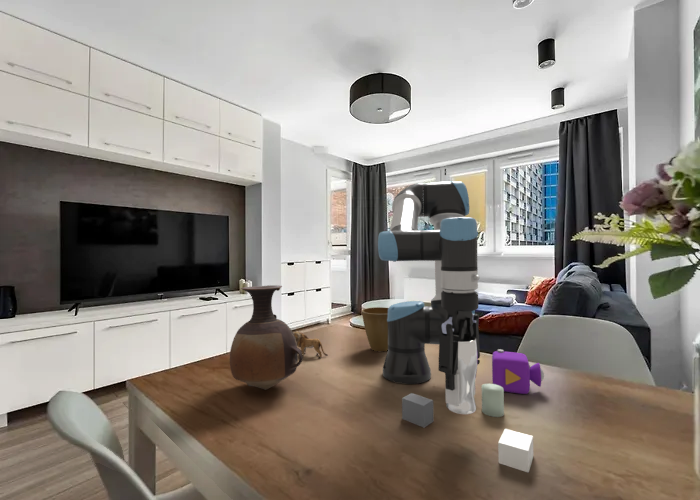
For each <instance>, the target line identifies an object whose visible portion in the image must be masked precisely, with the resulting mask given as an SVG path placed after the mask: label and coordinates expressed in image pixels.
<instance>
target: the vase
mask: <svg viewBox="0 0 700 500" xmlns="http://www.w3.org/2000/svg"><path fill="white" fill-rule="evenodd" d="M282 287H283V286H282V285H278V284H275V285H271V284H269V285H255V286H253V285H252V286H245V287H244V286H243V287H241V288H240V289H241V290H243V291H244V292H247V293H249V295H250V297H251V299H252V305H253V310H252V314H251V318H250V320H248V321H246V322H245V323H244V324H242V326H241V327H239V328H238V330H237V331H236V333H235V335H234V337H233V340H232V341H231V342H232V343H231V347H230V351H229V366H230V371H231V375H232V377H233V378H234V379H235V380H237V381H239V382H242V383H245V384H247V386H248V387H256V388H259V389H262V390H264V391H267V390H269V389H270V388H272V387H274V386H275V385H276V384H278V383H280V382H282V381H283V380H285V379H287V378H289V377H290V376H292V375H293V374H294V373H295V372H296V371H297V368H298V367H299V366H300V365H301V364H302V362H303V359H304V355H303V356H302V351H301V348H300V347H298V346H297V342H296V339H295V336H294V334H293V333H294V332H293V331H292V329H291V328H290V326H289V325H288V324H287V323H286V322H284V320H282V319H278V316H277V315H276V314H274V312H273V307H272V301H273V296H274V293H275V292H276V291H280V290H281V289H282Z"/></svg>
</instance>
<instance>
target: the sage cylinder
mask: <svg viewBox="0 0 700 500" xmlns="http://www.w3.org/2000/svg"><path fill="white" fill-rule="evenodd" d="M480 387H481V412H482V413H483V414H484V415H485V416H489V417H493V418H501V417H503V416H504V415H505V404H504V403H505V401H504V400H505V397H504V395H505V393H504V392H505V391H504V389H503V387H501V386H499V385H496V384H493V383H483V384H482V385H481V386H480Z"/></svg>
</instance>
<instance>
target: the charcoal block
mask: <svg viewBox="0 0 700 500" xmlns="http://www.w3.org/2000/svg"><path fill="white" fill-rule="evenodd" d="M434 418H435V417H434V400H433V399H430V398H427V397H426V396H422V395H419V394H416V393H412V392H411V393H408V394H407V395H405V396H404V397H402V398H401V419H402V420H404V421H407V422H409V423H412V424H414V425H416V426H419V427H420V428H427V427H428V426H429V425H431V424H432V423H434Z"/></svg>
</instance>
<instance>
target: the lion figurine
mask: <svg viewBox="0 0 700 500" xmlns="http://www.w3.org/2000/svg"><path fill="white" fill-rule="evenodd" d="M293 334H294V336H295V339H296V342H297V347H298V348H300V350H301V351H302V354H304V353H305V352H306V353H307V349H313V348H314V350H315V351H316V352H317V353H316V354H319V355H317V356H318V357H321V358H322V357H323V355H324V356H326V357H327V356H328V354H327V353H326V352H325V351H324V348H323V344H322V342H321V340H320V339H319V338H309V337H308V336H307V335H306V334H304V333H302V332H300V331H294V332H293ZM306 353H305V354H306ZM305 354H304V355H305ZM322 354H323V355H322Z"/></svg>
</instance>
